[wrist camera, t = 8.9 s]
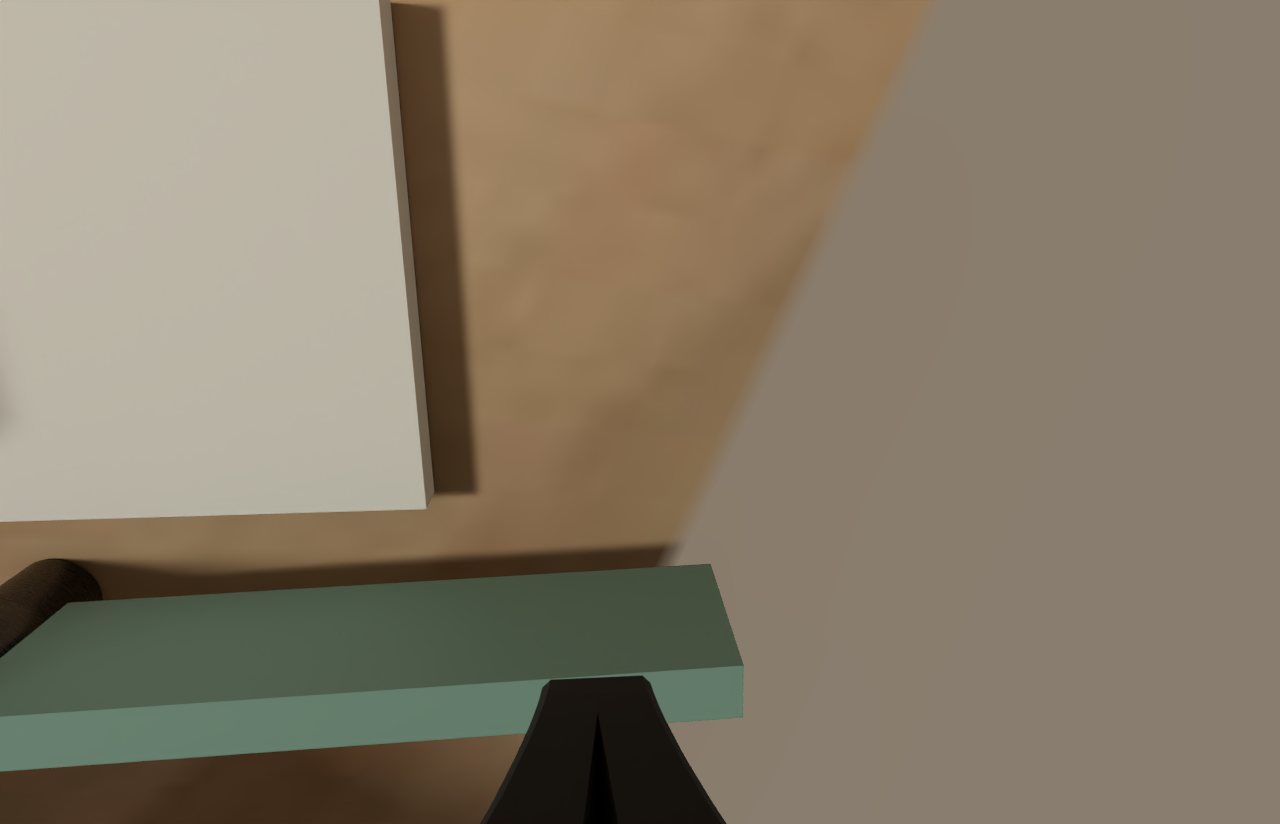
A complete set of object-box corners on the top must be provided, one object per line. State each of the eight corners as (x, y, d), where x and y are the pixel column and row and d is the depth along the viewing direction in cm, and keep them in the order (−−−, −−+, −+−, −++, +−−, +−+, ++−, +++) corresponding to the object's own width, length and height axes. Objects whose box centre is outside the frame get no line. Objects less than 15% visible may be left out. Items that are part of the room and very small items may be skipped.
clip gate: (68, 602, 17) (-78, 722, 14) (710, 564, 18) (743, 665, 14) (81, 647, 18) (-58, 775, 14) (710, 606, 19) (742, 717, 15)
